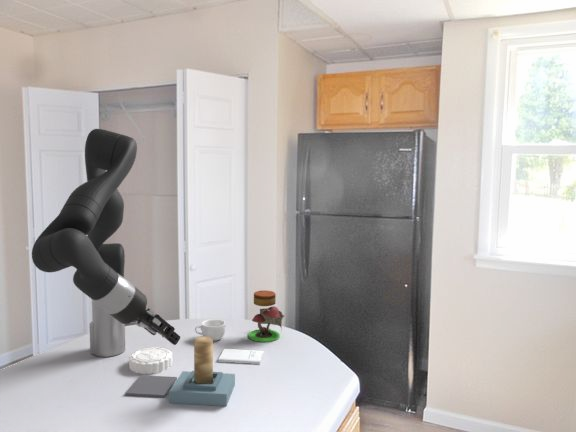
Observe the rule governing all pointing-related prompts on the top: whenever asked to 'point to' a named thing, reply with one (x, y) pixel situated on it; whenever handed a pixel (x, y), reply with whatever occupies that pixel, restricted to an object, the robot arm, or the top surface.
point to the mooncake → (150, 360)
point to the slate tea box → (202, 390)
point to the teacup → (212, 329)
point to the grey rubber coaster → (151, 386)
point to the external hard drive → (241, 356)
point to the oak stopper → (203, 360)
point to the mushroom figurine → (266, 317)
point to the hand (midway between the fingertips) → (166, 336)
